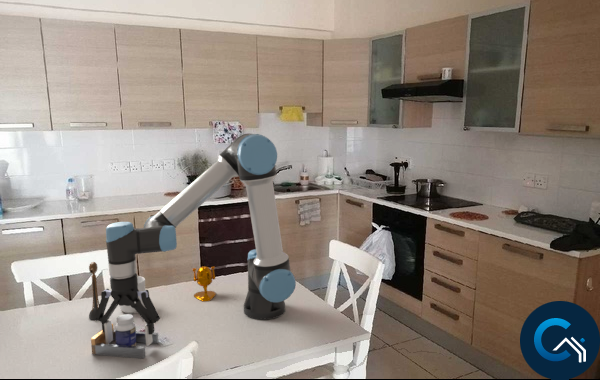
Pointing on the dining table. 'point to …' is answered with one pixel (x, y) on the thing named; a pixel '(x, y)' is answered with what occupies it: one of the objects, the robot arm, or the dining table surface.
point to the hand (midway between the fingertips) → (129, 342)
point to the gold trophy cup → (204, 283)
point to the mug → (141, 288)
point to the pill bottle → (125, 330)
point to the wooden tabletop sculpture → (94, 291)
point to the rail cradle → (120, 350)
